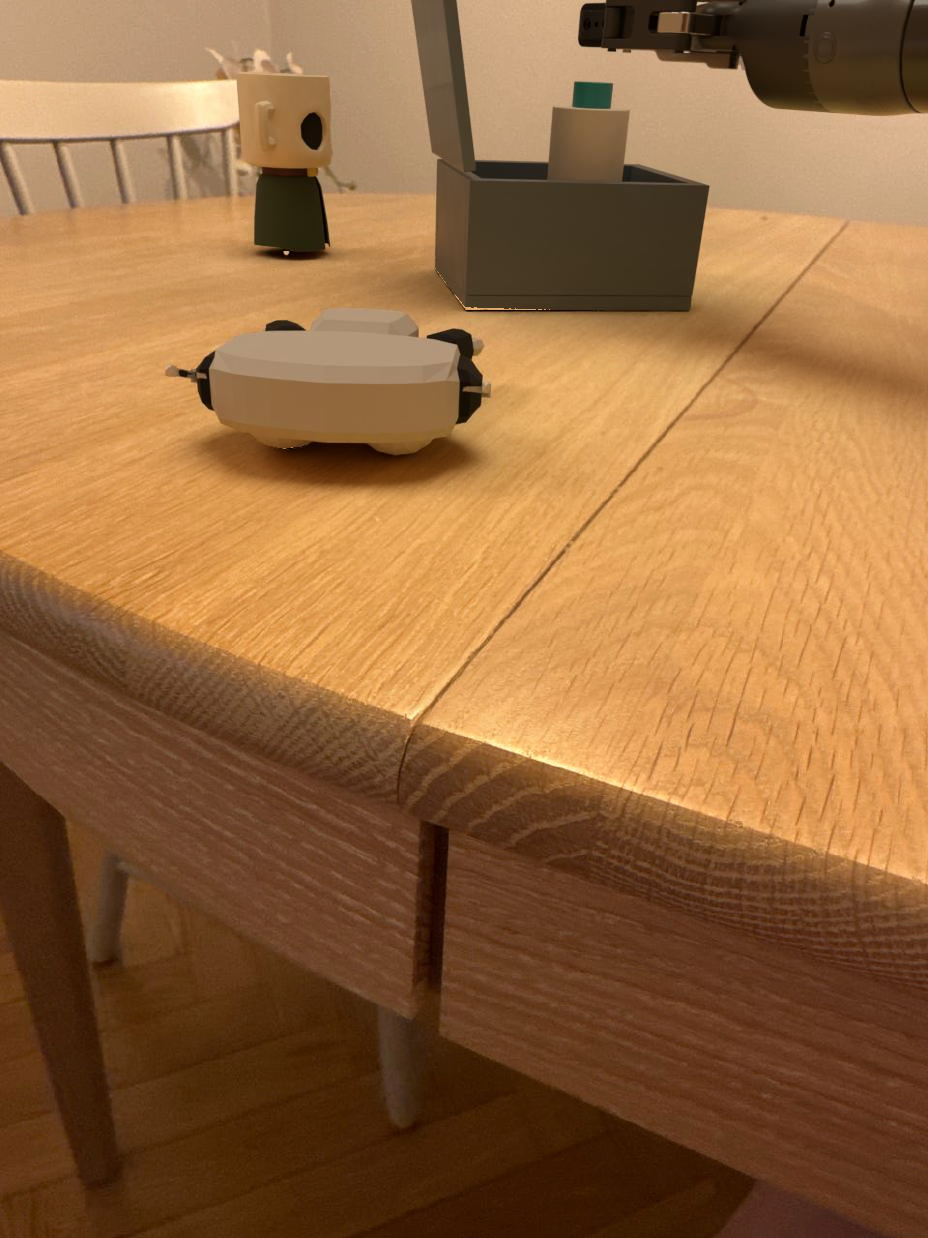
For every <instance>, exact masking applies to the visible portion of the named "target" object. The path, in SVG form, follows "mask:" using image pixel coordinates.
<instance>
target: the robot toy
mask: <svg viewBox="0 0 928 1238" xmlns="http://www.w3.org/2000/svg"><path fill="white" fill-rule="evenodd" d="M419 330H420V327H419V326H418V325H417V323H416V322H415V321H414V319H413V318H412V317H411V316H410V315H409V313H408V312H405V311H404V312H403V311H398V310H393V309H384V308H367V307H334V308H325V309H324V310H323V311H322V312H321V313H320V314H319V315H318V316H317V317H316V318H315V319H314V320H313V321H312V322H311V325H310V328H309V330H307V329H306V328H305V327H303V326H302V325H300V324H299V323H297V322H294V321H291V320H288V319H275V320H273V321H271V322H268V323H266V324H265V328H264V327H263V328H262V330H261V331H256V332H246V333H244V332H243V333H237V334H236V335H235V336H233V337H232V338H230V339H228V341H226V342H225V343H223V344H222V345H220V346H218V347H217V348H215V349H214V350H213V351H211V352H210V353H209V354H207V355H206V356H204V357H203V358H202V361H201V362H199V364H198V366H197V367H196V368H190V370H188V369H184V368H179V367H178V368H177V365H169V364H164V376H165V377H169V378H177V377H179V378H184V379H189V380H190V383H193V384H196V386H197V388H196V389H197V393H198V397H199V399H200V401H201V403H202V404H203V405H204V406H205V407H206V408H207V409H208V410H209V411H212V412H214V413H215V415H216V417H217V419H218V421H219V423H220V424H221V425H223V426H226V427H227V428H231V429H233V430H235V431H237V432H240V433H245V434H249V435H250V436H251V437H252V438H255V439H256V440H257V441H258V442H260V443H261V444H263V445H265V446H267V445H269V446H268V447H271V446H274V447H273V448H275V447H279V448H291V447H300V448H303V447H302V446H304V445H306V446H308V445H309V444H311V443H312V442H317V443H329V444H330V443H333V444H335V443H336V444H337V443H338V444H344V443H345V444H356V443H357V444H366V445H368V446H370V447H372V448H373V449H374V450H375V451H377V452H380V453H384V454H388V455H392V456H402V455H408V454H414V453H415V454H416V453H417V452H418V451H419V450H421V449H423V448H425V447H427V446H428V445H430V444H432V442H433V440H434V439H440V438H444V437H449V436H451V435H452V433H453V430H454V428H455V426H456V425H462V424H466V423H467V422H468V421H469V420H470V419H471V417H472V416H473V415H474V413H476V411H477V410H478V409H480V408H481V406H482V398H483V399H491V397H492V396H491V395H492V394H491V393H492V383H491V381H489V380H488V381H487V380H483V379H484V375H483V374H482V372H481V371H480V370H479V368H478V367H477V366H476V364H475V362H473V357H478V356H479V355H480V354H481V353H482V352H483V350H484V348H485V345H484V341H483V339H482V338H477V337H473V336H472V334H471V333H470V332H468V331H466V330H464V329H462V328H454V327H452V328H448V329H445V330H442V331H437V332H434V333H431V334H428V335H426V337H420V335H419V333H420V331H419ZM304 447H305V446H304ZM279 448H278V449H279ZM401 454H402V455H401Z"/></svg>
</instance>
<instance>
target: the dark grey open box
mask: <svg viewBox="0 0 928 1238" xmlns="http://www.w3.org/2000/svg"><path fill="white" fill-rule="evenodd" d="M548 162H549V161H531V160H500V159H499V160H498V159H497V160H496V159H475V164H476V170H475V171H471V172H463V171H461V170H460V169H458V168H456V167H455V166H453V165H452V164H450V163H448V162H447V161H445V160H443V159H442V158H437V159H436V187H435V189H436V190H435V198H436V199H435V229H434V230H435V231H434V232H435V233H434V234H435V237H434V238H435V239H434V269H435V268H436V270H437V271H438V272H439V274H440V275H441V277H442V278H443V280H444V281H445V282H446V284H447V285H448V286H449V288H450V289H451V290H452V292H453V293H454V294H455V295H456V296H457V297H458V298H459V300H460V301H461V302H462V304H463V305H464V306H465V307H471V308H474V307H477V308H504V309H509V308H511V309H515V308H516V309H536V310H538V309H542V310H544V309H546V310H549V309H550V310H593V312H597V311H598V312H599V311H600V310H602V312H604V311H605V312H606V311H609V312H613V311H614V312H615V311H618V312H619V311H620V312H621V311H622V312H623V311H624V312H627V311H628V312H630V311H631V312H633V311H634V312H637V311H639V312H642V311H645V312H646V311H648V312H649V311H657V312H659V311H660V312H661V311H664V312H665V311H667V312H668V311H669V312H670V311H671V312H673V311H675V312H676V311H678V312H679V311H680V312H681V311H683V312H684V311H685V312H686V311H687V312H688V311H691V306H692V300H693V295H694V288H695V282H696V277H697V269H698V263H699V256H700V250H701V243H702V237H703V230H704V224H705V218H706V213H707V212H706V211H707V205H708V200H709V192H710V185H709V184H706V183H703V182H699V181H696V180H692V179H689V178H687V177H683V176H679V175H676V174H673V173H669V172H667V171H663V170H659V169H656V168H652V167H650V166H646V165H642V164H639V163H624V168H623V176H622V182H609V181H567V180H547V175H548ZM441 277H440V278H441ZM443 280H442V281H443ZM444 281H443V282H444ZM446 284H445V285H446ZM447 285H446V286H447ZM449 288H448V289H449ZM450 289H449V290H450ZM452 292H451V293H452ZM453 293H452V294H453ZM595 310H597V311H595Z"/></svg>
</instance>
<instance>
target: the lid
mask: <svg viewBox="0 0 928 1238" xmlns="http://www.w3.org/2000/svg"><path fill="white" fill-rule="evenodd" d="M410 3H411V10H412V18H413V24H414V33H415V40H416V48H417V55H418V61H419V68H420V69H419V70H420V74H421V75H420V77H421V83H422V90H423V98H424V104H425V113H426V120H427V126H428V134H429V142H430V149H431V153H432V154H433V155H436V156H437V157H439V159H443V160H445V161H447V162H448V163H450V164H452V165H453V166H455V167H456V168H458V169H460V170H461V171H463V172H471V171H475V170H476V164H475V160H476V156H475V155H476V154H475V148H474V139H473V131H472V130H473V129H472V121H471V114H470V113H471V112H470V106H469V105H470V103H469V95H468V87H467V78H466V70H465V69H466V68H465V62H464V61H465V60H464V53H463V43H462V36H461V34H462V33H461V27H460V18H459V10H458V2H457V0H410Z"/></svg>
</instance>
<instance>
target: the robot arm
mask: <svg viewBox="0 0 928 1238" xmlns="http://www.w3.org/2000/svg"><path fill="white" fill-rule="evenodd" d="M698 3H700V4H698ZM577 42H578V45H579V46H580V47H581V48H583V47H584V48H600V49H607V52H608V53H609V52H610V53H617V50H620V51H621V50H622V53H623V54H632V51H643V52H644V51H646V52H655V55H656V57H657V59H658V60H659V61H661V62H665V63H668V62H669V63H686V64H687V63H690V64H705V65H706V66H707V67H708V68H709V69H711V70H732V71H733V70H734V71H736V70H737V71H738V69H739V66H740V70H741V71H745V72H744V73H745V76H746V79H747V82H748V85H749V87H750V89H751V91H752V93H753V95H755V97H756V98H757V100H759V101H760V102H761V103H762V104H764V105H765V106H767V107H769V108H772V109H775V110H785V111H786V110H787V111H798V112H799V111H801V112H816V113H829V114H841V115H842V114H843V115H855V116H870V117H890V116H891V117H893V116H901V115H912V114H926V115H927V114H928V0H605V2H586V3H583V5H582V6H581V8H580V11H579V19H578V31H577Z"/></svg>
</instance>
